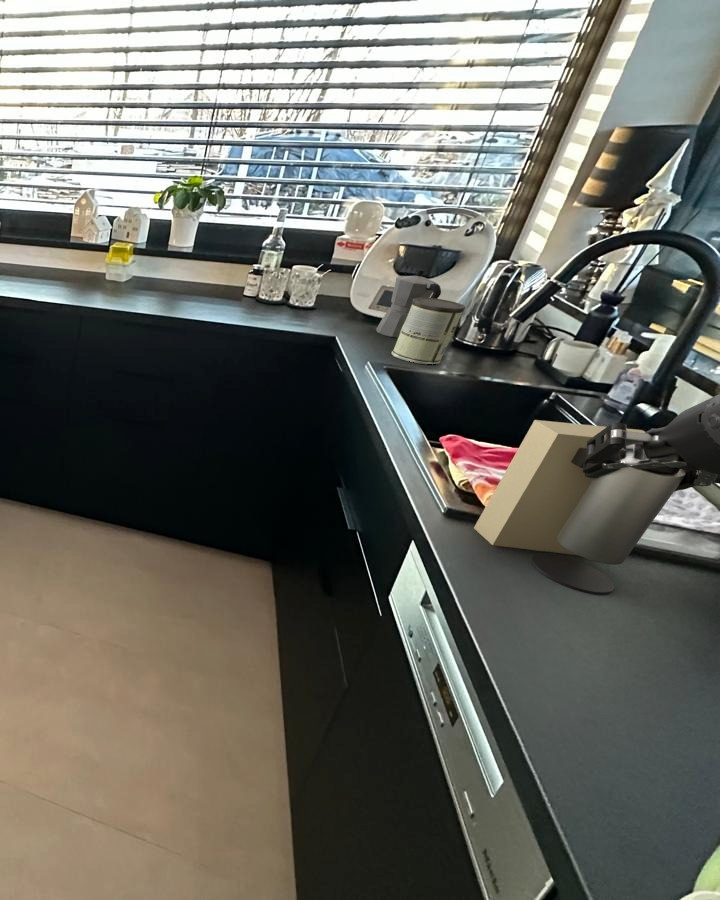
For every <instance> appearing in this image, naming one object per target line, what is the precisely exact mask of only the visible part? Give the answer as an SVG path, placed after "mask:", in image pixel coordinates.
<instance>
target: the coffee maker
mask: <svg viewBox="0 0 720 900" xmlns="http://www.w3.org/2000/svg"><path fill="white" fill-rule="evenodd" d="M606 427H607V426H603V425H592V424H581V423H571V422H562V421H561V422H560V421H550V420H539V419H534V420H533V422H532V424H531V425H530V427H529V429H528V431H527V433H526V434H525V436H524V438H523V439H522V441H521V443H520V445H519V447H518V449H517V450H516V452H515V454H514V456H513V457H512V459H511V461H510V463H509V464H508V467H506V470H505V471H504V473H503V476H502V477H501V478H500V480H499V482H498V483H497V486H496V488H495V490H494V491H493V493H492V495H491V496H490V497H489V500H488V501H487V504H486V506H485V507H484V509H483V511H482V512H481V514H480V516H479V518H478V520H477V521H476V523H475V525H474V527H473V529H474V530H475V531H477V533H478V534H479V535H481V536H482V537H483V539H485V540H486V541H487V542H488V543H489V544H490V545H492V546H495V547H504V548H511V549H512V548H513V549H522V550H529V551H530V550H531V551H539V553H535V554H533V555H532V557H530V564H531V566H532V567H533V568H534V569H535V570H536V571H537V572H538V573H540V574H541V575H542V576H544V577H546V578H547V579H549V580H551V581H553V582H555V583H557V584H558V585H561V586H564V587H566V588H568V589H571V590H573V591H578V592H580V593H585V594H589V595H596V596H606V595H610V594H612V593H613V592H614V590H615V584H614V582H613V581H612V580H611V579H610V578H609V577H608V576H607V575H606V574H605V573H603V572H601V571H600V570H598V569H596V568H595V567H592V566H590V565H588V564H586V563H584V562H581V561H579V560H576V559H574V558H571V557H568V556H565V555H571V556H577V555H576V554H574V553H572V552H570V551H569V550H567V549H565V548H564V547H562V546H561V545H560V544H559V543H558V542H557V539H556V537H557V536H558V534H559V532H560V531H561V529H562V528H563V526H564V525H565V523H566V521H567V520H568V518H569V517H570V515H571V514H572V512H573V511H574V509H575V507H576V506H577V504H578V503H579V501H580V500H581V498H582V496H583V495H584V493H585V492H586V490H587V489H588V487H589V486H590V484H591V482H592V481H593V479H594V478H589V477H585V473H583V463H584V460H585V458H586V454H587V441H588V440H590V439H591V438H592V437H594V436H595V435H596V434H598V433H599V432H601V431H602V430H603V429H605V428H606ZM626 430H627V431H632V432H640V433H645V432H646V431H645V430H643V429H635V428H634V429H633V428H626ZM560 554H561V555H560ZM562 554H563V555H562Z"/></svg>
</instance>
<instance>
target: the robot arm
mask: <svg viewBox="0 0 720 900" xmlns="http://www.w3.org/2000/svg"><path fill="white" fill-rule="evenodd" d="M605 427H606V428H605V429H603V430H602V431H601V432H599V433H598V434H596V435H595V436H594V437H592V438H591V439H590V440H588V441H587V454H586V458H585V460H584V463H583V473H585V477H589V478H597V477H599V476H602V475H604V474H607V473H609V472H611V471H614V470H615V469H618V468H625V467H632V468H634V469H636V470H642V469H650V468H657V467H665V466H668V467H670V468H674V467H676V468H679V469H682V470H684V471H685V473H686V476H685V477H684V478H683V480H682V481H681V483H680V484H679V485H678V487H677V488H676V490H675V491H674V492H673V493H676V492H678V491H684V490H687V489H690V488H694V487H710V486H712V484H720V393H719V394H717V395H714V396H712V397H710V398H708V399H706V400H704V401H702V402H699V403H697V404H695V405H693V406H691V407H689V408H687V409H685V410H683V411H681V412H680V413H679V414H677V416H675V417H674V418H673V420H672V421H671V422H669V423H668V424H667V425H666V426H663V427H658V428H652V429H649V430H647V431H645V433H640V432H632V431H627V430H626V429H627V428H628V427H627V424H626V423H623V422H614V423H613V422H612V423H610V424H609V425H608V426H605ZM619 452H626V457H625V458H624V459H619ZM644 452H645V454H646V457H647V459H646V460H643V459H644Z"/></svg>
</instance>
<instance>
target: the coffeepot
mask: <svg viewBox="0 0 720 900" xmlns="http://www.w3.org/2000/svg"><path fill="white" fill-rule="evenodd" d="M425 271H426V270H425V269H422V268H419V269H417V270H416V275H397V276H396V278H395V282H394V287H393V291H392V295H391V300H390V302H391V305H390V308H389V309H387V311H386V313H385V314H384V315H383V317H382V319H381V320H380V321H379V324H378V325H377V327H376V328H375V331H376V332H377V333H378V334H380V335H382V336H386V337H388V338H395V339H398V336H399V334H400V332H401V329H402V327H403V324H404V322H405V319H406V317H407V315H408V312H409V310H410V307H411V305H412V301H413V299H414V298H420V297H424V298H436V299H439V297H440V296H441V294H442V289H441V285H440V284H439V283H437V282H436V281H434V280H431V279H430V278H427V277H424V276H423V275H424V273H425Z"/></svg>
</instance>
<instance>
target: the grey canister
mask: <svg viewBox="0 0 720 900" xmlns="http://www.w3.org/2000/svg"><path fill="white" fill-rule="evenodd" d="M625 457H626V452H619V459H624V458H625ZM646 459H647V457H646V454H645V452H644V459H643V460H646ZM685 476H686V473H685V471H684V470H682V469H679V468H676V467H674V468H670V467H668V466H665V467H657V468H650V469H642V470H636V469H634V468H632V467H625V468H618V469H615V470H614V471H611V472H609V473H607V474H604V475H602V476H599V477H597V478H594V479H593V481H592V482H591V484H590V486H589V487H588V489H587V490H586V492H585V493H584V495H583V496H582V498H581V500H580V501H579V503H578V504H577V506H576V507H575V509H574V511H573V512H572V514H571V515H570V517H569V518H568V520H567V521H566V523H565V525H564V526H563V528H562V529H561V531H560V532H559V534H558V536H557V537H556V539H557V542H558V543H559V544H560V545H561V546H562V547H564V548H565V549H567V550H569V551H570V552H572V553H574V554H576V555H575V556H578V557H580V558H584V559H586V560H589V561H591V562H595V563H600V564H604V565H611V566H616V565H622V564H623V563H624V562H625V561H626V559H627V558H628V556H629V555H630V554H631V552H632V551H633V549H634V548H635V547H636V545H637V544H638V542H639V541H640V540H641V538H642V537H643V536H644V535H645V533H646V531H647V530H648V529H649V527H650V526H651V524H652V523H653V522H654V521H655V519H656V517H657V516H658V515H659V513H660V511H661V510H662V509H663V508H664V507H665V505H666V504H667V502H668V500H669V499H670V498H671V496H672V495H673V494H674V493H675V492H676V491H675V490H676V488H677V487H678V485H679V484H680V483H681V481H682V480H683V478H684V477H685ZM674 491H675V492H674Z"/></svg>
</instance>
